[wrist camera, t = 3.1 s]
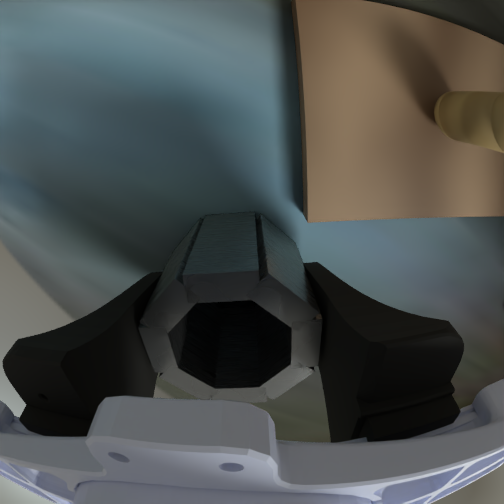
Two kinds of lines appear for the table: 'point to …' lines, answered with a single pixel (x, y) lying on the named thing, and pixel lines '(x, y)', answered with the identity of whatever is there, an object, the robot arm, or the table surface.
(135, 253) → the table surface
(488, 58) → the brown peg board
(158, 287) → the octagonal steel tube
